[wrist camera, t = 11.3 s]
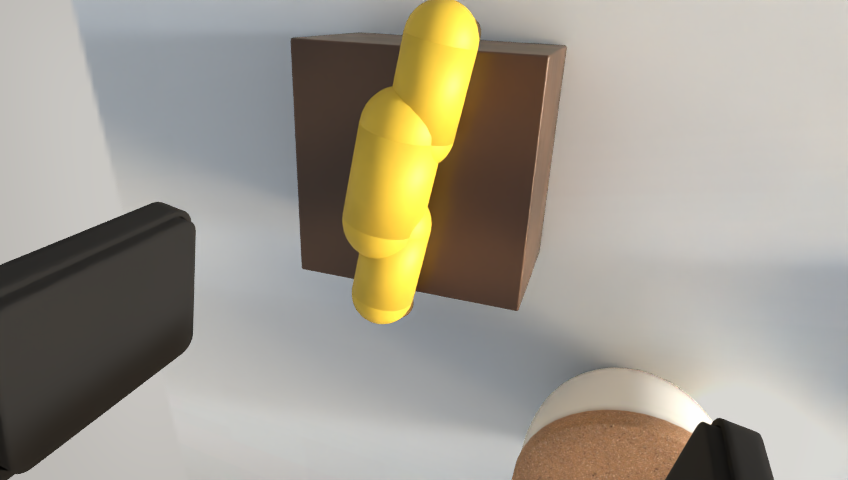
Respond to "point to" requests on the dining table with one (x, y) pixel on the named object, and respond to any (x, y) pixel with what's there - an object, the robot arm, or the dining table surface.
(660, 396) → the trinket box
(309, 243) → the block
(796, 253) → the dining table surface
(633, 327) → the dining table surface
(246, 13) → the dining table surface
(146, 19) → the dining table surface
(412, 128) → the banana
